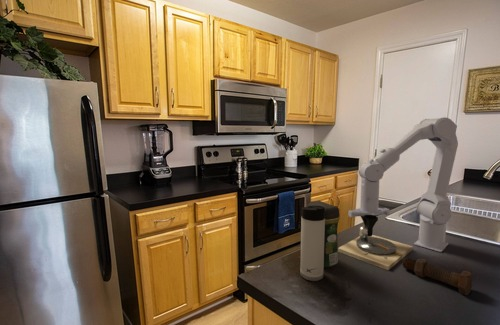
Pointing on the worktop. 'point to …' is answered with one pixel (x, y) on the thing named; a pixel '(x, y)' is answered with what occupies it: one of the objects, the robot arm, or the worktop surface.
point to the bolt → (440, 274)
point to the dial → (374, 243)
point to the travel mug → (312, 242)
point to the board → (376, 259)
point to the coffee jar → (329, 232)
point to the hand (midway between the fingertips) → (368, 235)
